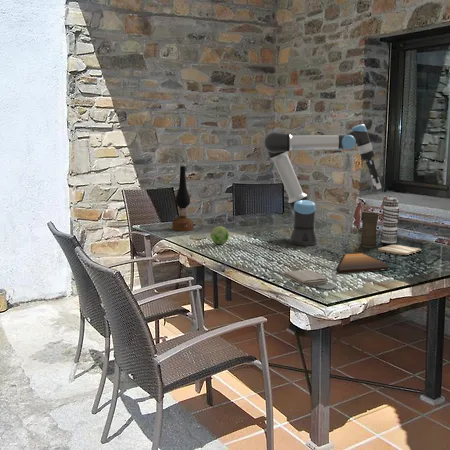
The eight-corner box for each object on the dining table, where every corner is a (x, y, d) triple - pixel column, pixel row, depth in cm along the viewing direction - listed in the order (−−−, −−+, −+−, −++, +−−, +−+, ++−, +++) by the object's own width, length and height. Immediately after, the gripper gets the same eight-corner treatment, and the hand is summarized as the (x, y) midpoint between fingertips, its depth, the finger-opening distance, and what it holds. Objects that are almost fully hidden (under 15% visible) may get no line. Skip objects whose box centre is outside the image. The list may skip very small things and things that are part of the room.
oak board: (405, 256, 289) (405, 253, 289) (377, 251, 300) (377, 248, 300) (420, 251, 300) (421, 248, 300) (393, 246, 311) (393, 244, 311)
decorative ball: (226, 246, 308) (227, 228, 306) (208, 245, 310) (208, 227, 308) (230, 242, 318) (230, 225, 316) (212, 242, 320) (212, 224, 318)
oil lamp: (197, 234, 360) (210, 171, 356) (182, 233, 347) (196, 168, 343) (179, 229, 367) (192, 168, 363) (165, 228, 354) (178, 165, 350)
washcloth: (304, 287, 233) (304, 280, 233) (283, 276, 250) (283, 269, 249) (329, 284, 238) (329, 277, 238) (306, 274, 254) (306, 267, 254)
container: (367, 248, 306) (369, 215, 303) (356, 245, 314) (358, 213, 311) (380, 247, 310) (382, 214, 307) (369, 244, 318) (370, 212, 315)
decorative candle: (394, 244, 319) (397, 199, 315) (378, 242, 324) (381, 198, 320) (399, 241, 327) (402, 198, 322) (383, 239, 332) (385, 196, 327)
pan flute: (339, 274, 254) (388, 271, 261) (339, 267, 254) (389, 264, 261) (315, 262, 278) (360, 259, 285) (315, 255, 277) (361, 252, 284)
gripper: (375, 151, 309) (387, 187, 312) (370, 147, 333) (381, 181, 336) (362, 155, 310) (373, 192, 313) (357, 152, 335) (368, 186, 338)
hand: (377, 187), depth 325 cm, fingers open, 13 cm apart
